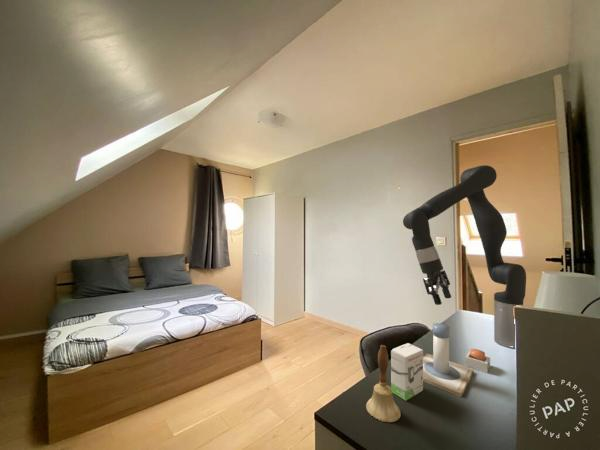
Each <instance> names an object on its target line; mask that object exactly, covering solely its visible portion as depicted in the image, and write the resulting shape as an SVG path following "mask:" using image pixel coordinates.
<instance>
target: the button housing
mask: <svg viewBox="0 0 600 450" xmlns="http://www.w3.org/2000/svg"><path fill="white" fill-rule="evenodd" d="M464 359H465V361H464V363H465V364H464V366H465V367H468V368H471V369H473V370H477V371H479V372H483V373H485V374H488V372H489V371H490V367H491V356H487V355H485V360H477V359H474V358H472V357H471V355H470V350H468V352H467V354H465V357H464Z"/></svg>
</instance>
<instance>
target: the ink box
mask: <svg viewBox="0 0 600 450" xmlns="http://www.w3.org/2000/svg"><path fill="white" fill-rule="evenodd" d="M390 357H391V359H390V362H391V363H390V365H391V367H390V377H391V378H390V381H391V382H390V388H391V389H392V394H394V395H396V396H398V397H399V398H401V399H402V400H404V401H406V402H407V401H408V400H410V399H412V398H413V397H415V396H416V395H418V394H419V393H421V392H422V391H424V381H423V357H424V350H423V349H422V348H419V347H418V346H416V345H413V344H411V343H409V342H407V343H405V344H402V345H399V346H397V347H394V348H392V350H390Z"/></svg>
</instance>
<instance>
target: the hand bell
mask: <svg viewBox="0 0 600 450" xmlns="http://www.w3.org/2000/svg"><path fill="white" fill-rule="evenodd" d="M379 347H380V348H379V350H378V353H377V363H378V367H379V368H378V369H379V382H378V383H376V384H375V385H373V392H372V396H371V397H370V398H369V399H368V400H367V402H366V404H365V408H366V411H367V412H368V413H369V415H370V416H371V417H372V416H373V418H374V419H375V420H377V419H378V421H379V422H383V423H384V422H385V423H394V422H396V421H399V419H400V418H401V416H402V415H401V413H402V412H401V409H400V407H399V406H398V405H397V403H396V402H395V399H394V396H393V394H394V393H393V392H392V389H391V386H390V385H387V370H388V367H389V353H388V350H387V346H386V345H384V344H381V345H380V346H379Z"/></svg>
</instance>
